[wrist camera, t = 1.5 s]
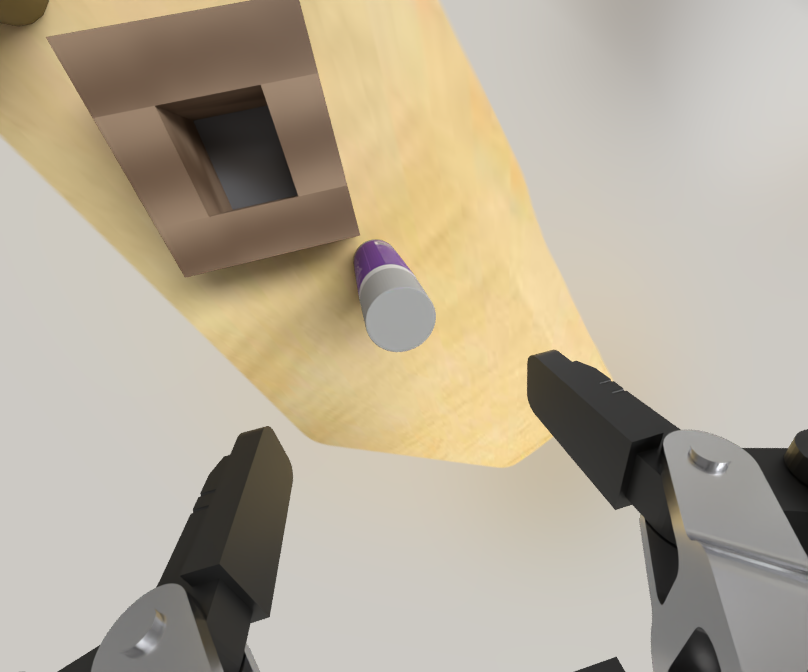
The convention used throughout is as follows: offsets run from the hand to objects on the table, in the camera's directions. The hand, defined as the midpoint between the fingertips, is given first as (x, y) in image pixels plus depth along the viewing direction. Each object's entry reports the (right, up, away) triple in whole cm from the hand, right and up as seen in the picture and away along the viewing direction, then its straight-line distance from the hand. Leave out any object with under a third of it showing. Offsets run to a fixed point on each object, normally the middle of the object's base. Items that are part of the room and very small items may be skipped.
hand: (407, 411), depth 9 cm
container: (-3, +10, +23) cm, 25 cm away
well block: (-13, +17, +16) cm, 27 cm away
